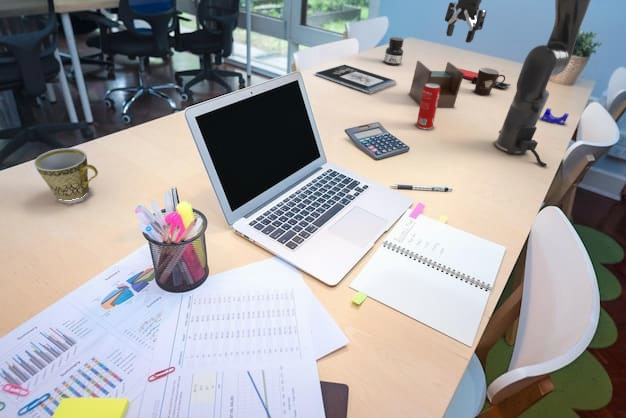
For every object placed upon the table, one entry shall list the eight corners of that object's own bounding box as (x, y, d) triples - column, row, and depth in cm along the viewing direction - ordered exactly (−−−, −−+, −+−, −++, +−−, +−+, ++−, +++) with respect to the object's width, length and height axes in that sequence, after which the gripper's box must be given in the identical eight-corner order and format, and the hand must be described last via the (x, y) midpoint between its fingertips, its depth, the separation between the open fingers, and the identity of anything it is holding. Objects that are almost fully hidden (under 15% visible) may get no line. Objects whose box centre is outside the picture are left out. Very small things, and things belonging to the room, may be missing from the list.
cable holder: (541, 119, 155) (545, 110, 153) (543, 117, 158) (547, 107, 155) (562, 126, 152) (567, 116, 149) (564, 123, 154) (569, 114, 152)
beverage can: (432, 130, 138) (444, 89, 129) (414, 128, 139) (424, 86, 130) (431, 124, 143) (443, 83, 134) (414, 121, 144) (424, 81, 135)
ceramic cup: (38, 204, 88) (22, 166, 82) (67, 181, 96) (55, 145, 90) (92, 213, 87) (80, 175, 81) (117, 189, 95) (107, 153, 89)
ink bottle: (381, 63, 200) (386, 39, 193) (384, 59, 207) (388, 35, 200) (400, 67, 198) (405, 42, 191) (402, 62, 205) (407, 38, 198)
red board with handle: (504, 91, 179) (512, 84, 190) (507, 85, 178) (514, 78, 188) (442, 75, 193) (453, 70, 203) (444, 69, 191) (454, 64, 201)
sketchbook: (344, 67, 191) (344, 63, 190) (396, 84, 176) (397, 80, 175) (315, 75, 177) (315, 70, 176) (369, 94, 162) (370, 90, 161)
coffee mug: (470, 93, 174) (477, 70, 168) (473, 88, 180) (480, 66, 174) (497, 99, 170) (505, 76, 164) (499, 94, 177) (507, 72, 171)
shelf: (453, 107, 158) (464, 73, 150) (421, 106, 156) (430, 71, 148) (439, 94, 169) (449, 62, 161) (409, 94, 167) (417, 60, 159)
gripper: (448, -18, 129) (435, 34, 139) (484, -11, 120) (467, 45, 129) (463, -18, 133) (450, 33, 142) (499, -11, 123) (481, 43, 133)
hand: (458, 39), depth 136 cm, fingers open, 8 cm apart
